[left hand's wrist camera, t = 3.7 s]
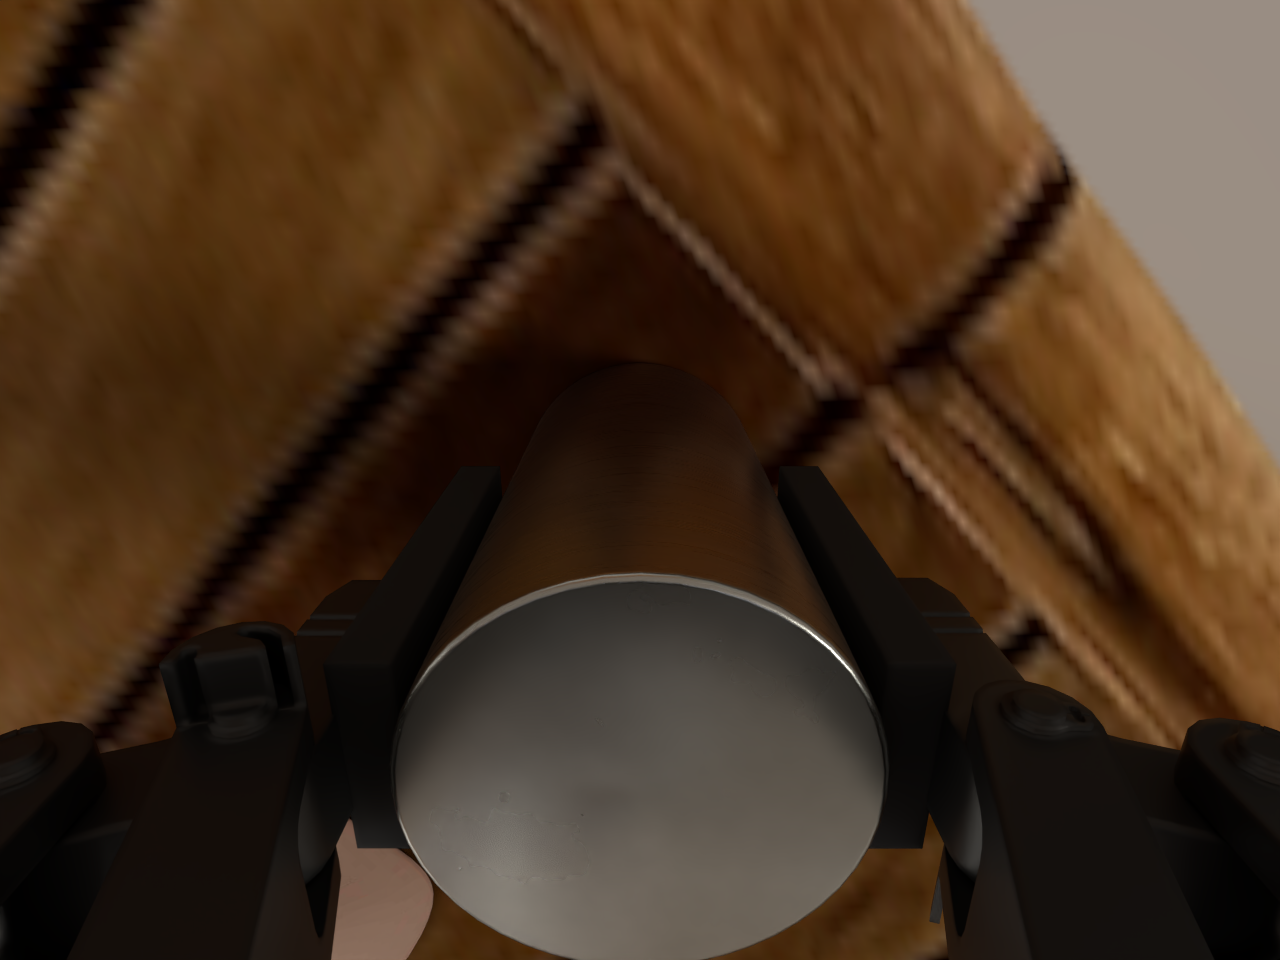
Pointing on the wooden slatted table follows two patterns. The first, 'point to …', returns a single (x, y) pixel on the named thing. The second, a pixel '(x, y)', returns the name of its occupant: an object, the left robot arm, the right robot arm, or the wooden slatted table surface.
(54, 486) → the wooden slatted table surface
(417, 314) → the wooden slatted table surface
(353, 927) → the anatomical model
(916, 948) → the wooden slatted table surface
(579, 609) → the can
